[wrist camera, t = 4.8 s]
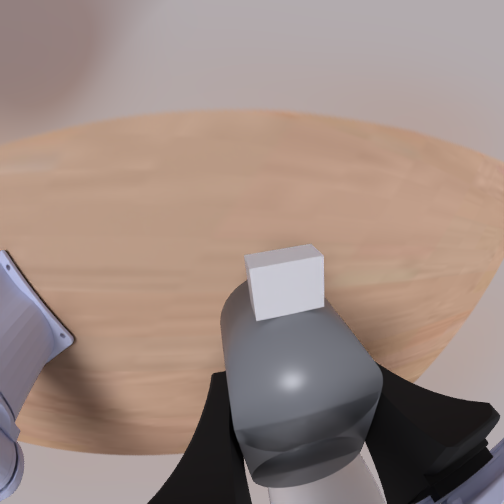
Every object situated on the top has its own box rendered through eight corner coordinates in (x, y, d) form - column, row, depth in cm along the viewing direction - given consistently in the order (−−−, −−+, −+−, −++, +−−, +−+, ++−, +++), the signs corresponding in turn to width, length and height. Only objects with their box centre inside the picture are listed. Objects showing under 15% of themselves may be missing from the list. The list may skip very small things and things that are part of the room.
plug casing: (202, 241, 10) (201, 321, 5) (322, 222, 10) (403, 277, 6) (242, 416, 13) (258, 494, 9) (320, 398, 14) (353, 468, 9)
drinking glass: (251, 412, 24) (283, 552, 10) (239, 365, 21) (278, 545, 7) (318, 396, 24) (376, 523, 10) (320, 347, 22) (405, 501, 8)
